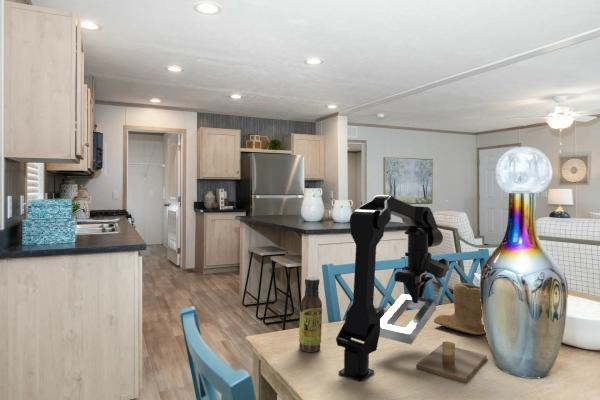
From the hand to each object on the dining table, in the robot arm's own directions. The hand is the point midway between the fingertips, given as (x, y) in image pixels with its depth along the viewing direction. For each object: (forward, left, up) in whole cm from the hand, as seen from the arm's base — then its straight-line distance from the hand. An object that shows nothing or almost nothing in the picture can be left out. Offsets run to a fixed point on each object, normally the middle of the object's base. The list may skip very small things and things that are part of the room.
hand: (417, 302), depth 118 cm
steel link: (-7, 0, -4) cm, 8 cm away
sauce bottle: (-24, +21, -12) cm, 34 cm away
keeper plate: (-8, -13, -12) cm, 19 cm away
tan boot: (+21, -7, -12) cm, 25 cm away
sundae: (+3, +24, -10) cm, 26 cm away
